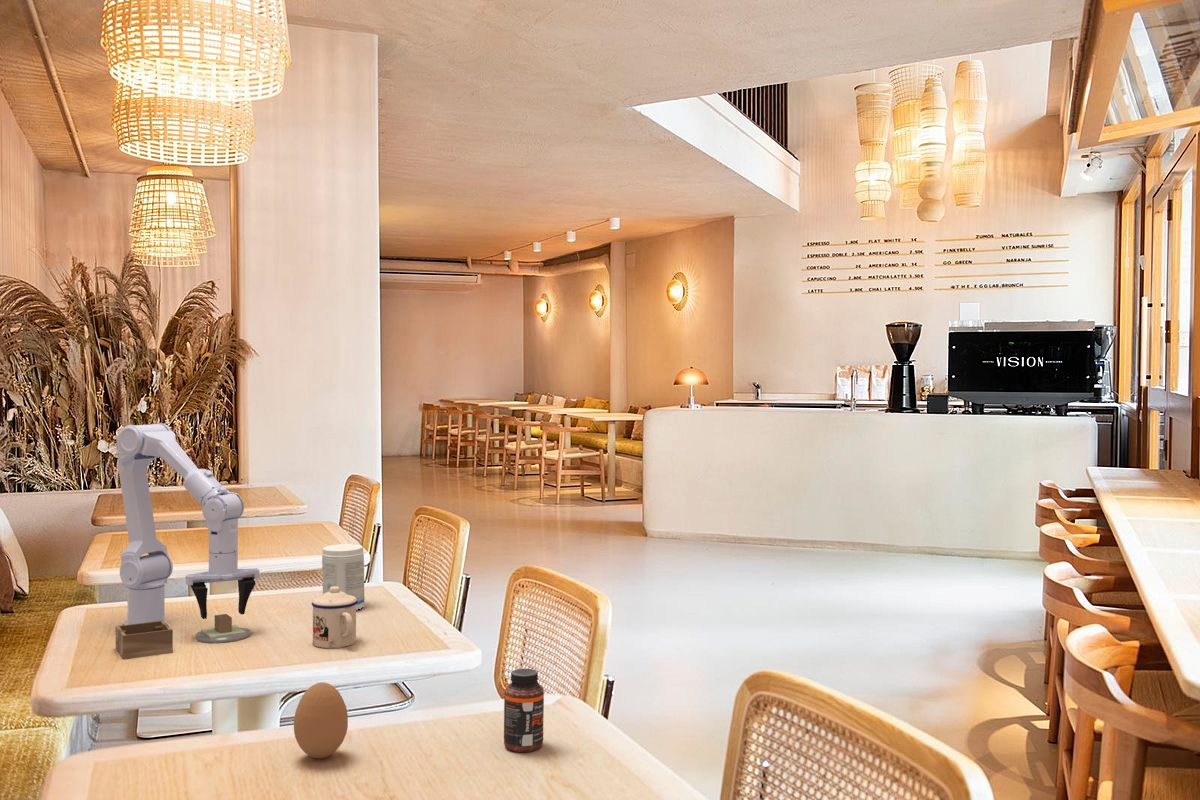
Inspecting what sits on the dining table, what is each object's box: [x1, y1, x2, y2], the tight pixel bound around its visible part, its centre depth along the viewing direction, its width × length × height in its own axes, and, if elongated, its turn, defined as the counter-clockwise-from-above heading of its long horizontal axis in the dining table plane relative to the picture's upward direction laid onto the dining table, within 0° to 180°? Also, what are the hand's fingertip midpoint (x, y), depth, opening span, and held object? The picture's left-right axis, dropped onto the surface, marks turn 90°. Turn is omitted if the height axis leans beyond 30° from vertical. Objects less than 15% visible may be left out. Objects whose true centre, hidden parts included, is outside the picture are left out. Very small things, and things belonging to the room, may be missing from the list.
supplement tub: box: [321, 543, 365, 611], centre depth 241 cm, size 10×10×15 cm
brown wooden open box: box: [115, 620, 174, 660], centre depth 204 cm, size 9×9×4 cm
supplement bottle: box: [503, 668, 545, 753], centre depth 154 cm, size 6×6×11 cm
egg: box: [293, 681, 349, 760], centre depth 149 cm, size 8×8×11 cm
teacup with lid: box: [311, 586, 357, 649], centre depth 210 cm, size 12×9×12 cm
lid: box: [200, 613, 246, 639], centre depth 216 cm, size 7×7×4 cm
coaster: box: [194, 626, 252, 644], centre depth 216 cm, size 11×11×1 cm
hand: (222, 615), depth 216 cm, fingers open, 7 cm apart
